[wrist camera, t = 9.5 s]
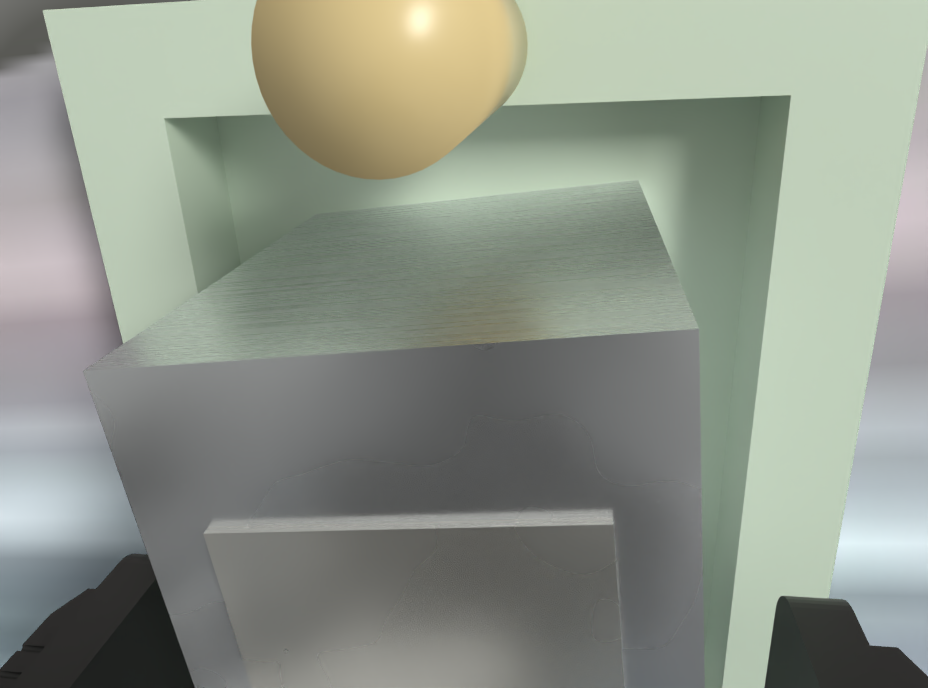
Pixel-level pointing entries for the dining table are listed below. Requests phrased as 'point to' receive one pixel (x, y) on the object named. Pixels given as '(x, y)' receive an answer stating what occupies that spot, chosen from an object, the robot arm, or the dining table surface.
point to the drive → (427, 452)
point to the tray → (542, 168)
